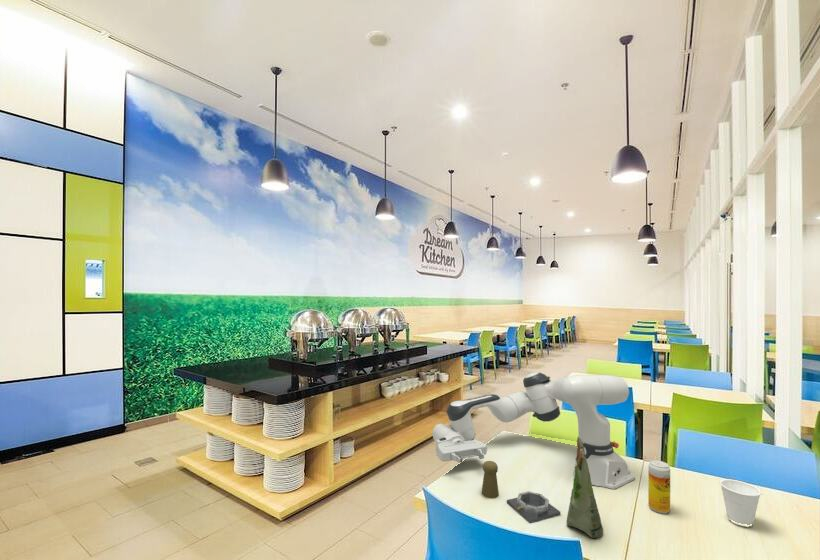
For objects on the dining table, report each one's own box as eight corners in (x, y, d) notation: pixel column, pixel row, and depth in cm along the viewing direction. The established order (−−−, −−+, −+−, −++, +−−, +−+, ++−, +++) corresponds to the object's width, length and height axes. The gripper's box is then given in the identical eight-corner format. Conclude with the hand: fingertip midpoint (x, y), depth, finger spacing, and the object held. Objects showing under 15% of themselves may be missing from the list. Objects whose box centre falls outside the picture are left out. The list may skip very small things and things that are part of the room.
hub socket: (535, 496, 137) (535, 487, 137) (560, 515, 126) (560, 505, 126) (506, 502, 133) (506, 494, 133) (529, 523, 121) (529, 513, 121)
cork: (499, 499, 135) (499, 467, 135) (481, 497, 136) (481, 465, 136) (498, 490, 141) (498, 459, 141) (481, 488, 142) (481, 457, 142)
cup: (764, 536, 116) (764, 498, 116) (722, 525, 121) (722, 489, 121) (757, 519, 124) (757, 484, 125) (717, 509, 130) (717, 476, 130)
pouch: (585, 543, 112) (585, 455, 112) (554, 520, 123) (554, 440, 123) (612, 534, 117) (613, 449, 117) (580, 512, 127) (581, 435, 128)
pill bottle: (663, 516, 125) (663, 469, 126) (644, 506, 131) (644, 461, 131) (674, 511, 128) (674, 465, 128) (655, 502, 134) (655, 458, 134)
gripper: (476, 448, 166) (495, 462, 154) (432, 456, 159) (448, 471, 146) (476, 434, 167) (495, 446, 154) (432, 440, 159) (448, 454, 146)
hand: (471, 458), depth 150 cm, fingers open, 8 cm apart
